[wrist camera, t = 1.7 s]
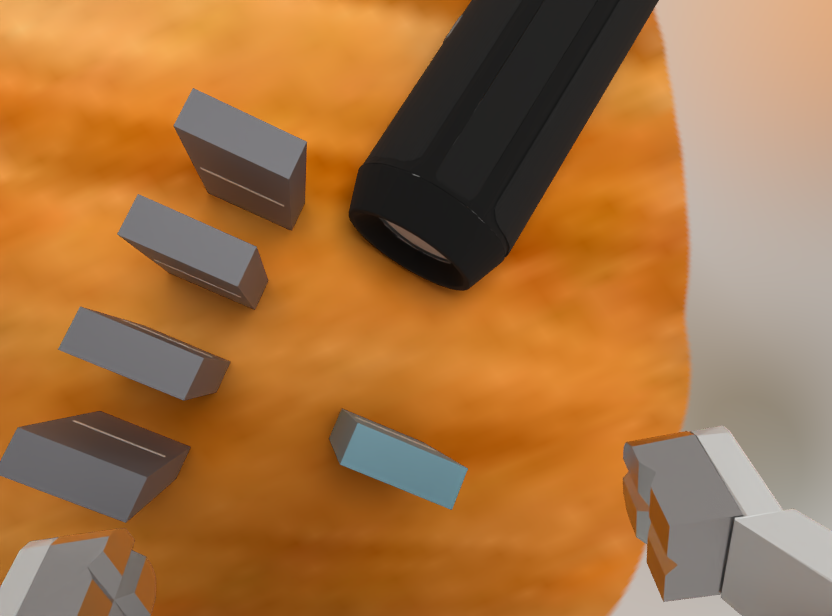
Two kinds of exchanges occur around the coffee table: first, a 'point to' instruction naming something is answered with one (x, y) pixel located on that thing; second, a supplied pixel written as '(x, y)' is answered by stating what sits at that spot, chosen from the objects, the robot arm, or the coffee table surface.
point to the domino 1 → (244, 158)
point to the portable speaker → (488, 131)
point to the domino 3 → (143, 355)
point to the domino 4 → (94, 462)
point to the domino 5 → (396, 459)
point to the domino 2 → (196, 251)
